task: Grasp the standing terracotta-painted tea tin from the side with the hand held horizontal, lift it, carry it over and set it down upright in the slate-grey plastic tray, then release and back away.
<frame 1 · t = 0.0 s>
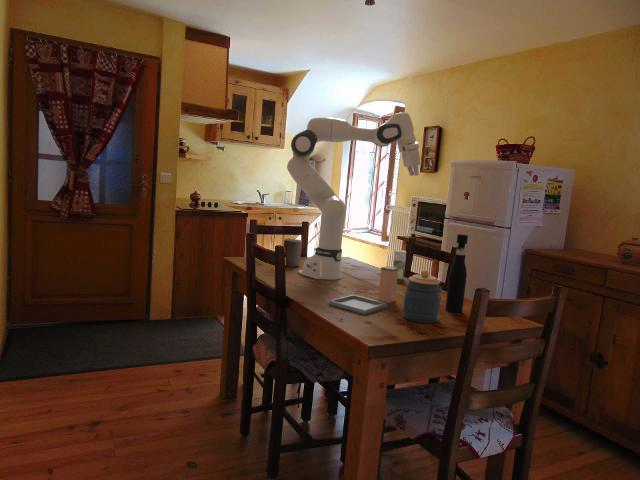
hand: (414, 175, 226), 52 cm above the table, tool tilted 20°, fingers open, 8 cm apart
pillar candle: (291, 265, 253), on the table
syrup box: (397, 278, 241), on the table
tray: (358, 306, 181), on the table
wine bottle: (453, 311, 186), on the table
tea tin: (386, 300, 194), on the table
canister: (420, 318, 172), on the table
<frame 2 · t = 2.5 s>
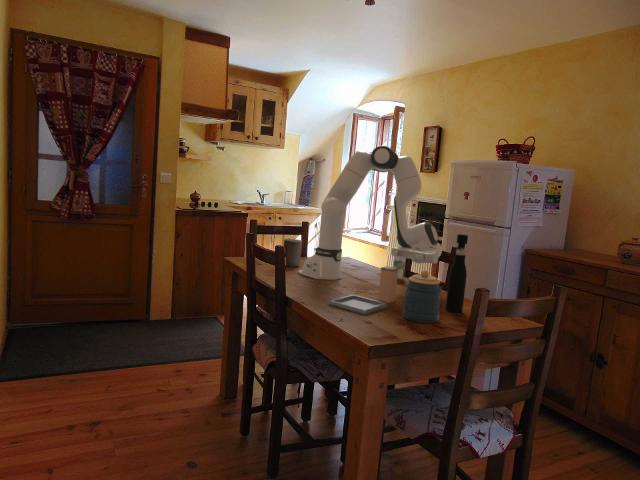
hand: (405, 255, 201), 18 cm above the table, tool horizontal, fingers open, 8 cm apart
nothing on the table moved.
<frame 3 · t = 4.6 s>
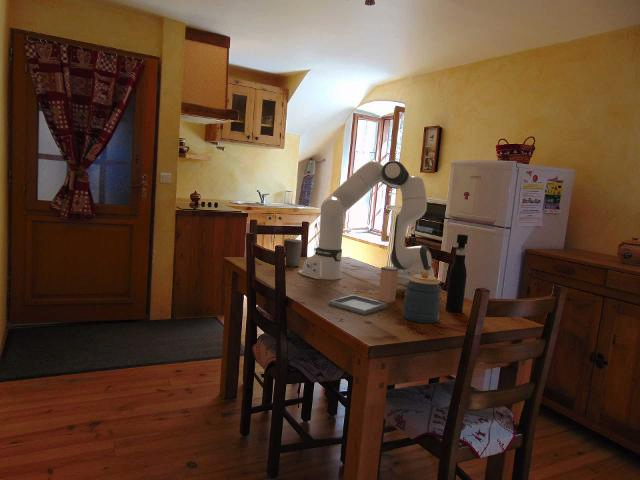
hand: (396, 281, 198), 7 cm above the table, tool horizontal, fingers open, 8 cm apart
nothing on the table moved.
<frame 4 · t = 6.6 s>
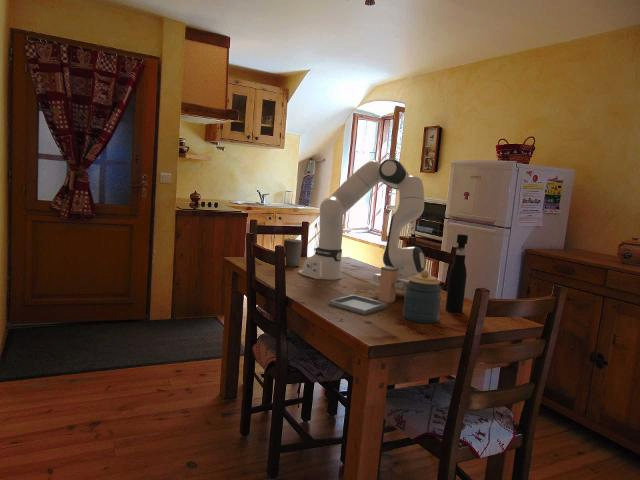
hand: (387, 283, 192), 7 cm above the table, tool horizontal, fingers closed on tea tin, 5 cm apart
tea tin: (386, 300, 194), on the table, touching gripper
everything else where it was.
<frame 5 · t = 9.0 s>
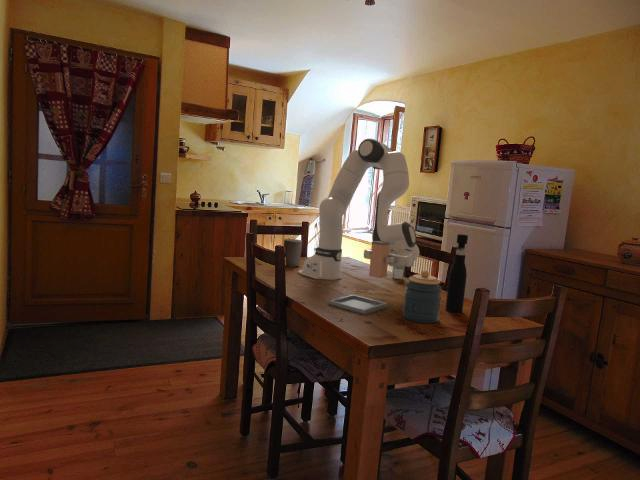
hand: (378, 258, 185), 18 cm above the table, tool horizontal, fingers closed on tea tin, 5 cm apart
tea tin: (377, 276, 186), point 11 cm above the table, touching gripper
everything else where it was.
when the fingers open (8 cm above the table, at t = 11.8 s): tea tin stays where it is, resting on tray.
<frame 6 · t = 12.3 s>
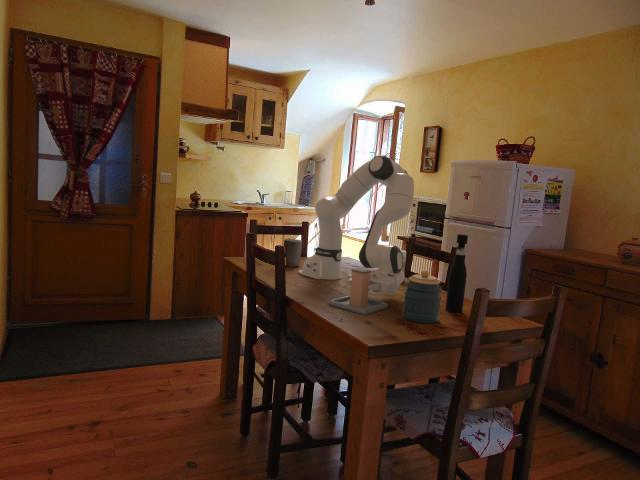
hand: (358, 285, 179), 8 cm above the table, tool horizontal, fingers open, 8 cm apart
tea tin: (358, 304, 181), point 1 cm above the table, touching tray
everything else where it was.
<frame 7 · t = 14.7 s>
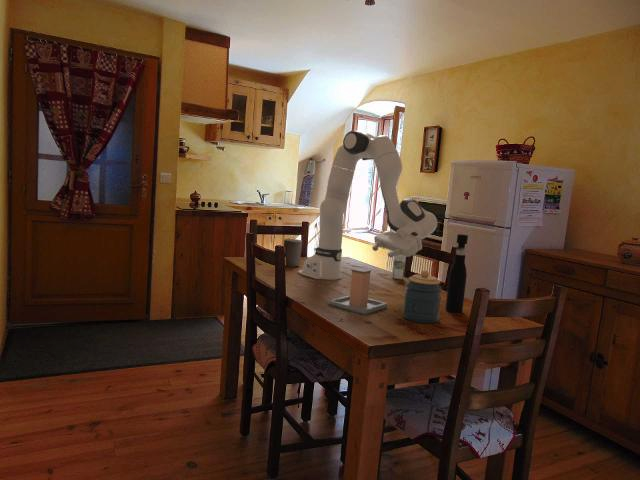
hand: (381, 252, 189), 20 cm above the table, tool tilted 65°, fingers open, 8 cm apart
nothing on the table moved.
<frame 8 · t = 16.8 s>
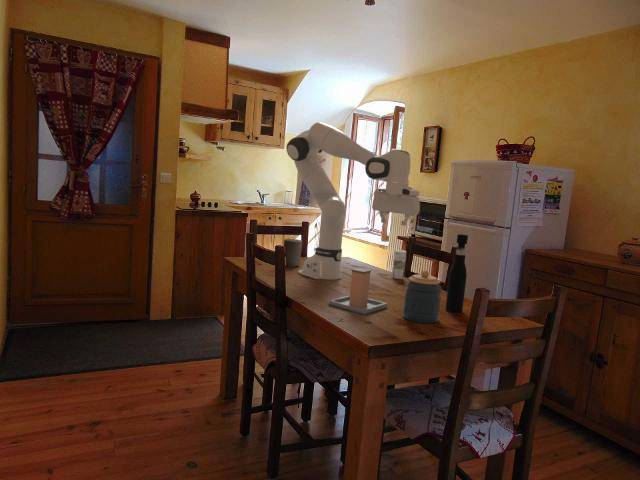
hand: (393, 223, 193), 31 cm above the table, tool pointing down, fingers open, 8 cm apart
nothing on the table moved.
at the end: tea tin inside the target area on the tray (0.0 cm from its centre), point 0.6 cm above the tray's base; tea tin tilted 0°; the gripper is holding nothing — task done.
